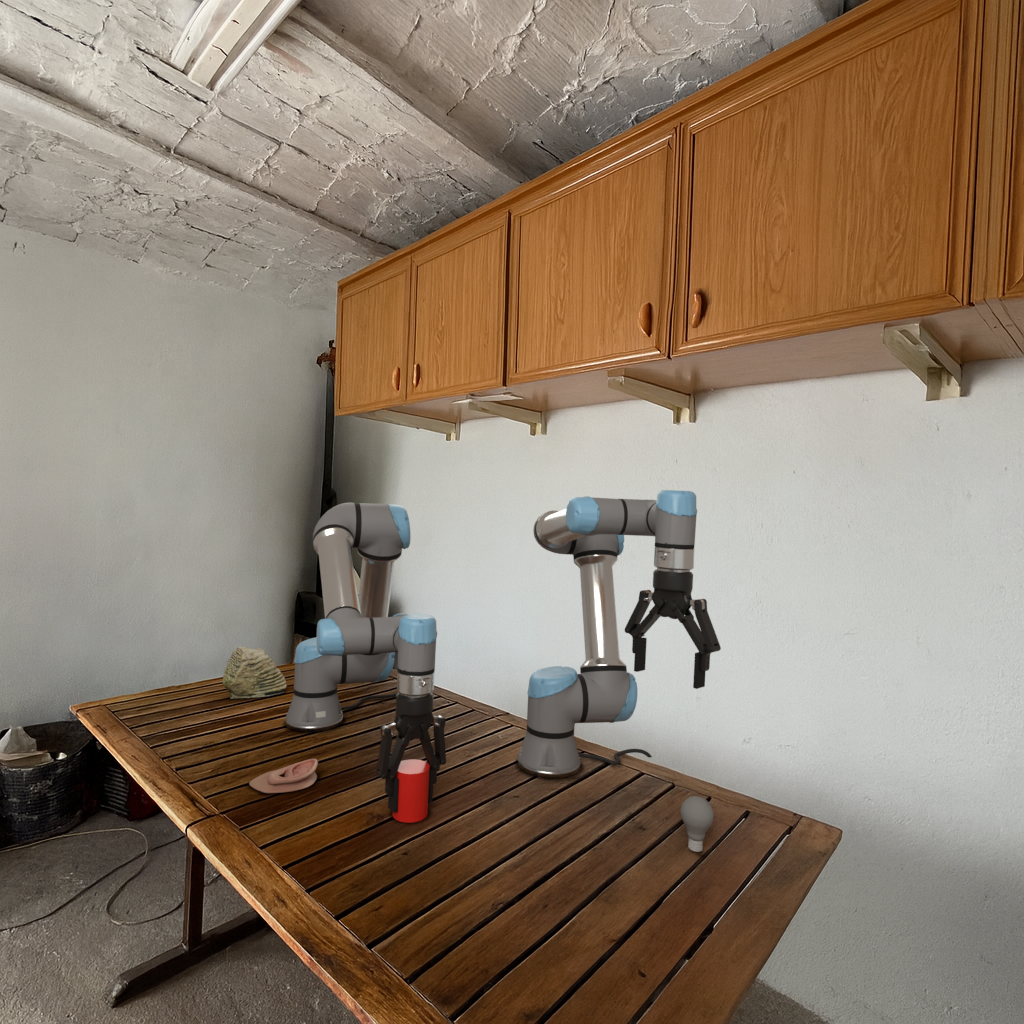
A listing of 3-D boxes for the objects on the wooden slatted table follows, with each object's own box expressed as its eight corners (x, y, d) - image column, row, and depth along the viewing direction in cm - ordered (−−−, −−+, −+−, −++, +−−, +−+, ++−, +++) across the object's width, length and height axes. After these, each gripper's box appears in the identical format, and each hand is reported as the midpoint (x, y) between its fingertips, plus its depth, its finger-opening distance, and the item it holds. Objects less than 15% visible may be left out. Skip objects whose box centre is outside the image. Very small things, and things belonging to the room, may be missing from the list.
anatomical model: (241, 770, 135) (272, 750, 146) (240, 789, 135) (271, 767, 146) (297, 779, 132) (324, 757, 144) (297, 798, 132) (324, 775, 144)
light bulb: (674, 841, 122) (676, 790, 121) (704, 841, 122) (707, 790, 122) (685, 859, 116) (688, 805, 115) (717, 859, 116) (719, 805, 116)
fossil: (218, 695, 195) (220, 647, 195) (278, 685, 208) (279, 640, 207) (228, 703, 189) (230, 653, 188) (289, 692, 201) (290, 645, 201)
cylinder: (427, 804, 132) (429, 758, 132) (428, 822, 125) (430, 773, 125) (392, 806, 131) (394, 759, 131) (392, 823, 124) (394, 774, 124)
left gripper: (376, 705, 119) (371, 826, 119) (467, 690, 131) (462, 800, 131) (360, 694, 125) (356, 809, 125) (449, 681, 137) (444, 786, 137)
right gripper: (610, 563, 130) (605, 666, 130) (721, 578, 111) (715, 698, 111) (633, 562, 135) (628, 661, 135) (743, 576, 116) (737, 691, 116)
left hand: (410, 804), depth 128 cm, fingers closed on cylinder, 7 cm apart
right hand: (668, 678), depth 123 cm, fingers open, 13 cm apart
